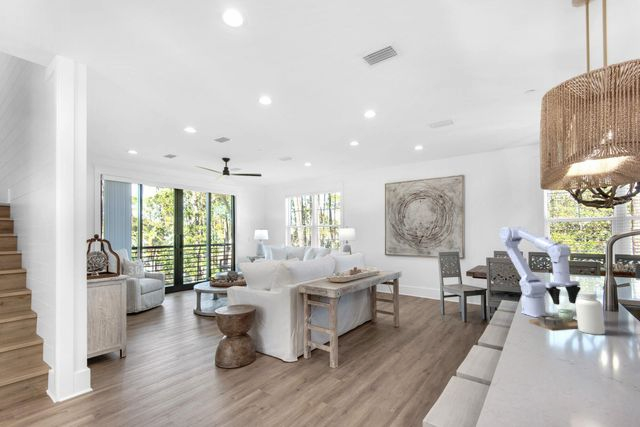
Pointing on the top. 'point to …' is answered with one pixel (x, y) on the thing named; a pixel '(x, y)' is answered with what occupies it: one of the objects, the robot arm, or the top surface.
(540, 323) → the stud board
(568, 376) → the top surface
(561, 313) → the cap
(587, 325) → the pill bottle
